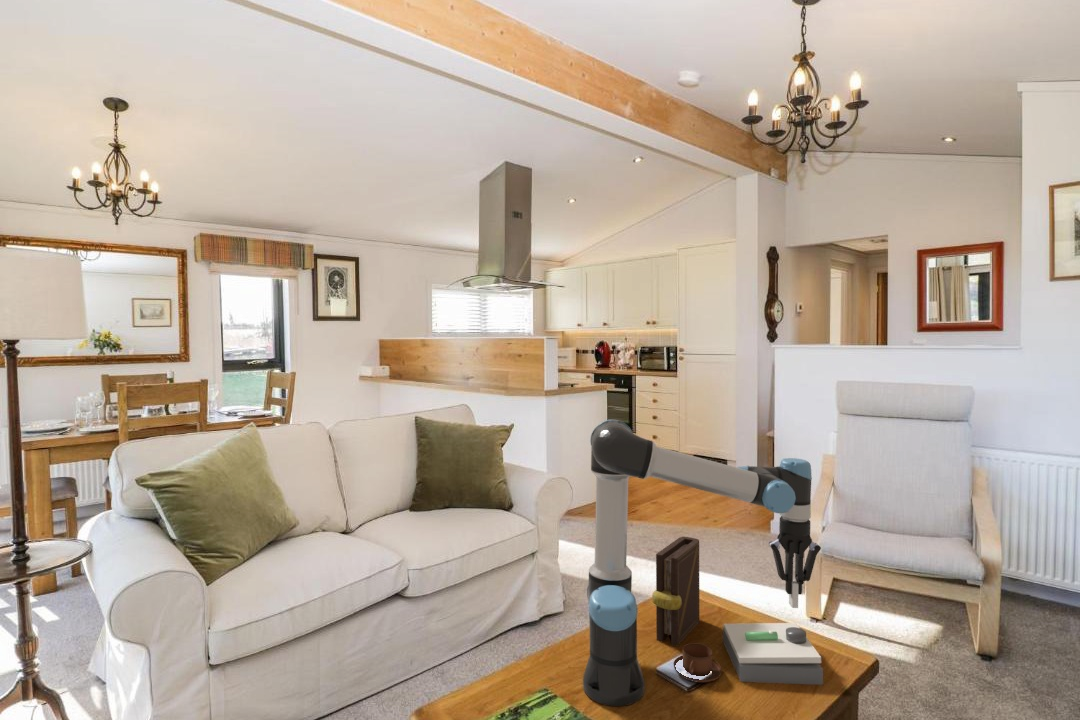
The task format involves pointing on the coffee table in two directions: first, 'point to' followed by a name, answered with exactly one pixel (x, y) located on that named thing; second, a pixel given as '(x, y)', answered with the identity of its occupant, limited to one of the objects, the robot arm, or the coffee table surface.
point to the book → (677, 589)
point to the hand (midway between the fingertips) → (793, 605)
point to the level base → (775, 670)
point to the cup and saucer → (699, 662)
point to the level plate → (770, 643)
